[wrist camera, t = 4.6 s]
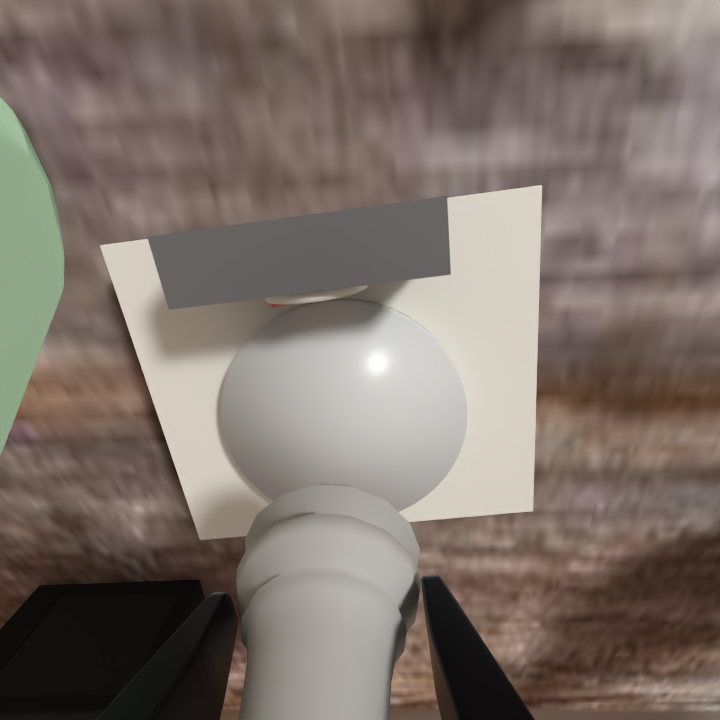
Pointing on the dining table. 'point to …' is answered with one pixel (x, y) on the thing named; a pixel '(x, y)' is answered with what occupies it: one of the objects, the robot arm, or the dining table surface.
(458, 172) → the dining table surface
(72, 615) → the digital camera
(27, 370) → the plant
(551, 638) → the dining table surface
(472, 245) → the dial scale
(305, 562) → the rook chess piece
